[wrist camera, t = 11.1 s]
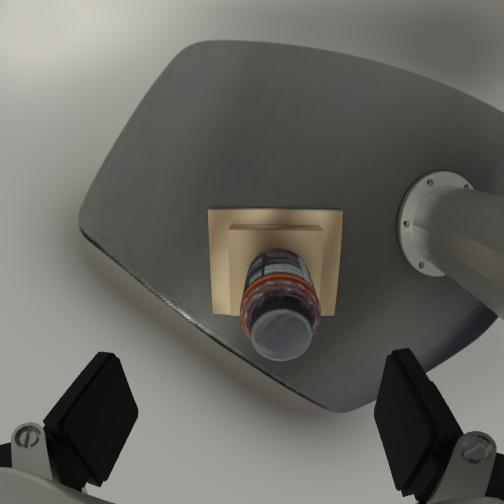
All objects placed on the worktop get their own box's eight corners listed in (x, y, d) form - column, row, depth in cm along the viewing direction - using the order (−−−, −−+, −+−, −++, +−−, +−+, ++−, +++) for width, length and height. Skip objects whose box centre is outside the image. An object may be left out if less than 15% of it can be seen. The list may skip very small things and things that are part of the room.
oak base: (340, 209, 31) (350, 216, 27) (332, 311, 34) (339, 328, 30) (209, 208, 32) (201, 214, 28) (214, 309, 35) (208, 326, 31)
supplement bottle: (294, 310, 30) (304, 383, 19) (239, 292, 30) (222, 359, 19) (317, 258, 28) (343, 313, 18) (259, 237, 28) (251, 283, 17)
